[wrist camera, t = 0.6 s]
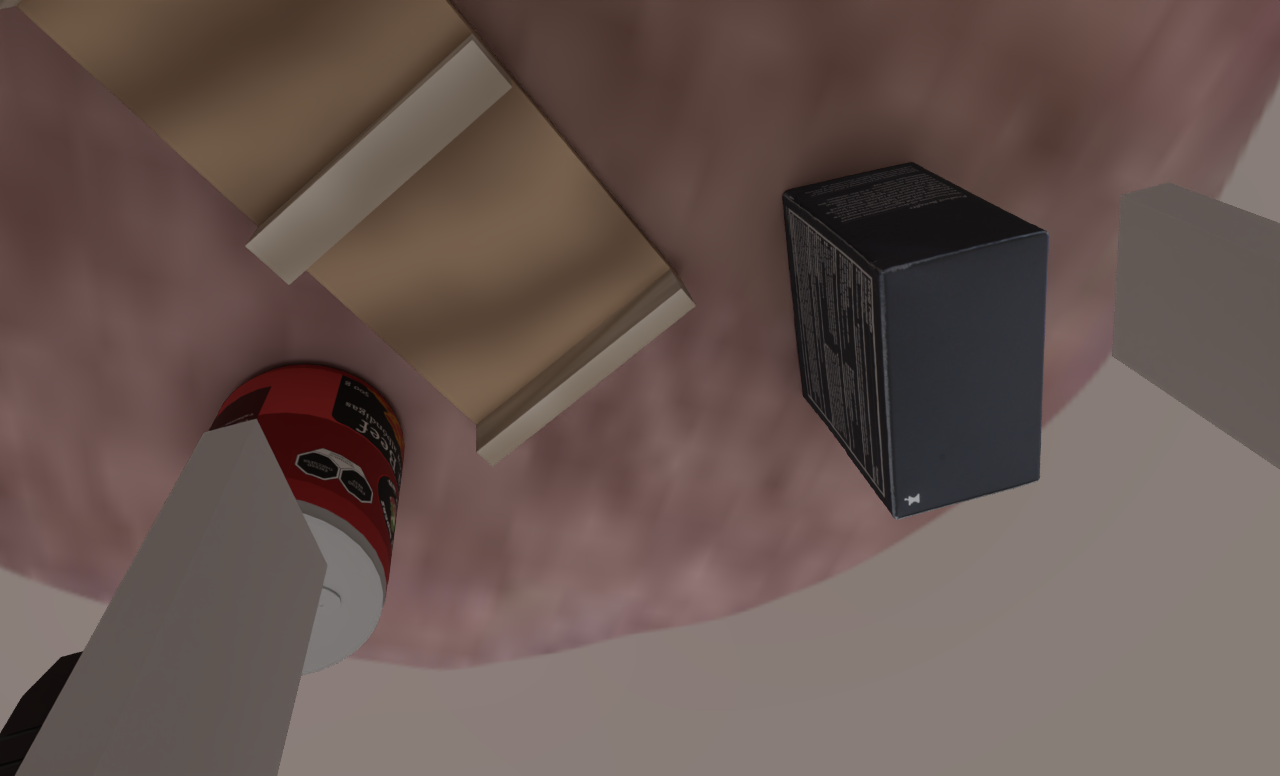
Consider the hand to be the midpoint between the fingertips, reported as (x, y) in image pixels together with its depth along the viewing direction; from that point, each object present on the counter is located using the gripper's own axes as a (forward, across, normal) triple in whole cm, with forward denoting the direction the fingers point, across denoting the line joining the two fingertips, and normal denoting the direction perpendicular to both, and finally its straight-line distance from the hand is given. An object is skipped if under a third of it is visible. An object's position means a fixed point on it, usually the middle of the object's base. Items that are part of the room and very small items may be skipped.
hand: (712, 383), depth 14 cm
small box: (+25, +11, -11) cm, 29 cm away
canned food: (+25, -15, -11) cm, 31 cm away
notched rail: (+25, -7, 0) cm, 26 cm away
